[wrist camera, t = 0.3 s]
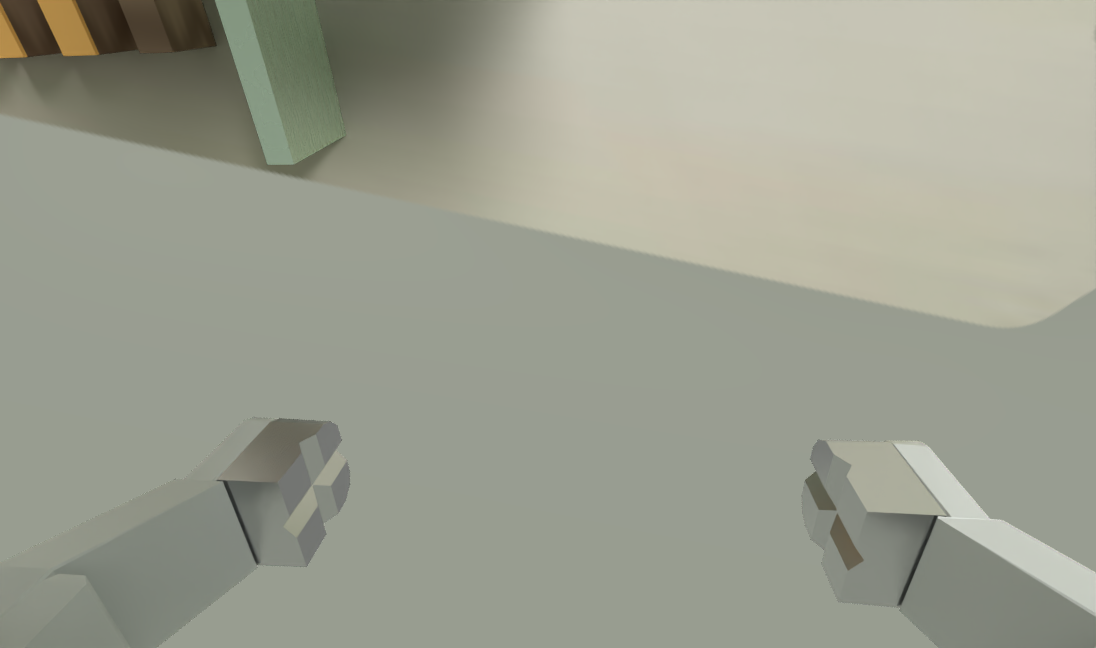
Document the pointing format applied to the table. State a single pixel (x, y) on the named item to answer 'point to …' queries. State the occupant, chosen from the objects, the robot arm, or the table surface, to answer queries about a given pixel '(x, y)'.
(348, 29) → the table surface
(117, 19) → the rack
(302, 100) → the panel
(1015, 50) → the table surface
